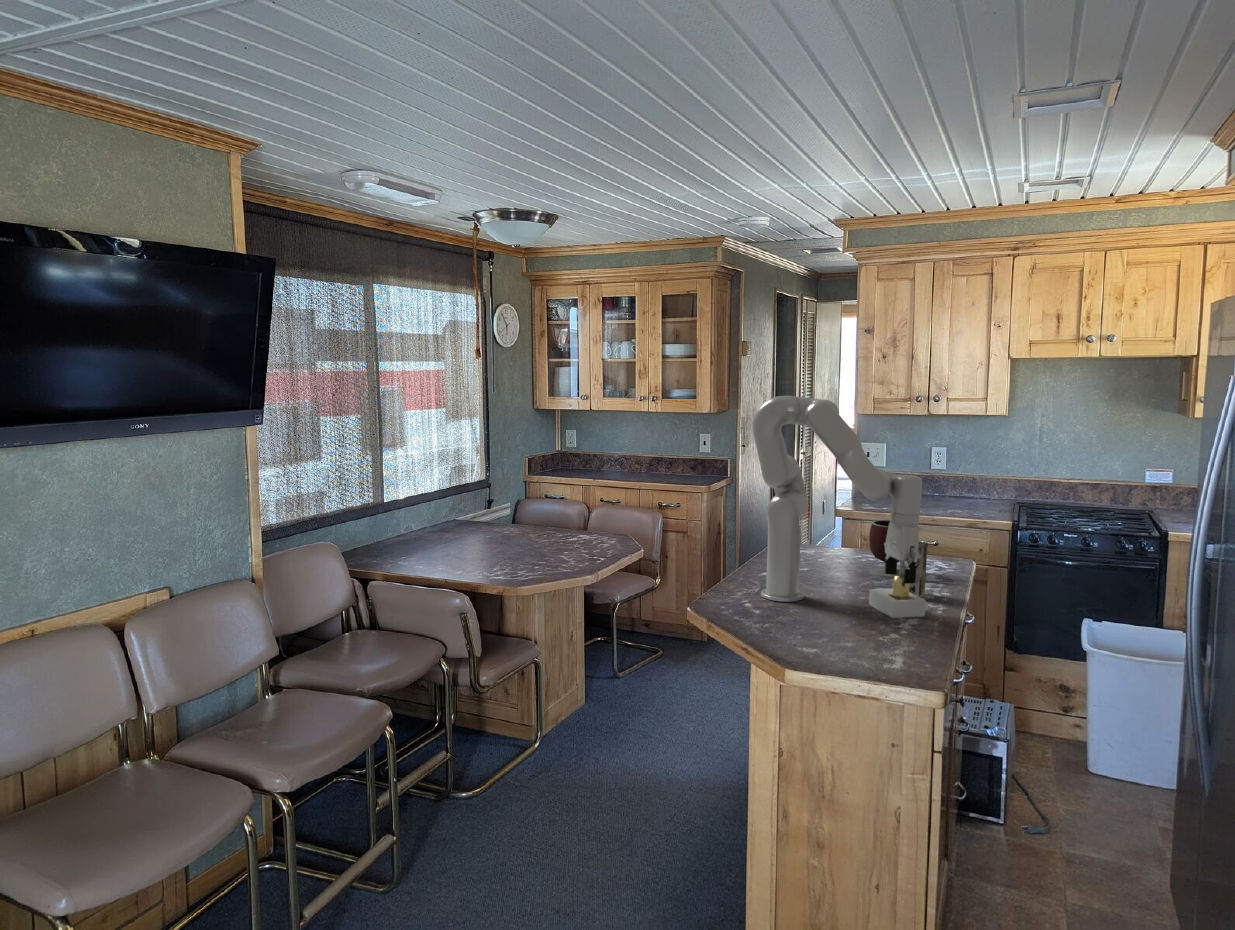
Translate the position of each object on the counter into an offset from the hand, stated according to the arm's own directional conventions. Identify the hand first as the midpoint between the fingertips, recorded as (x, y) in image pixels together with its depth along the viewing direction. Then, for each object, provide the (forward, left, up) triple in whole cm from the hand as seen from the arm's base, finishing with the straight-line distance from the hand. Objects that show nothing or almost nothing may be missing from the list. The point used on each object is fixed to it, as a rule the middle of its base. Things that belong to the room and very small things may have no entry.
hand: (899, 578), depth 234 cm
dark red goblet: (-40, +20, -10) cm, 46 cm away
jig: (-2, 0, -10) cm, 10 cm away
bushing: (0, 0, -8) cm, 8 cm away
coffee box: (-15, +13, -10) cm, 23 cm away
